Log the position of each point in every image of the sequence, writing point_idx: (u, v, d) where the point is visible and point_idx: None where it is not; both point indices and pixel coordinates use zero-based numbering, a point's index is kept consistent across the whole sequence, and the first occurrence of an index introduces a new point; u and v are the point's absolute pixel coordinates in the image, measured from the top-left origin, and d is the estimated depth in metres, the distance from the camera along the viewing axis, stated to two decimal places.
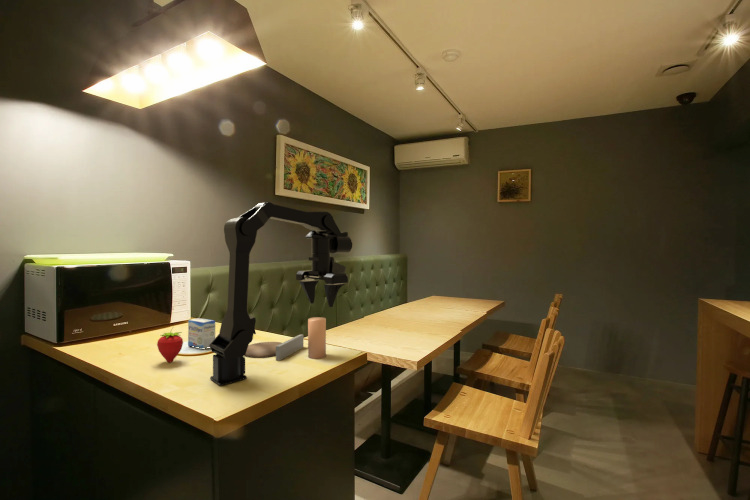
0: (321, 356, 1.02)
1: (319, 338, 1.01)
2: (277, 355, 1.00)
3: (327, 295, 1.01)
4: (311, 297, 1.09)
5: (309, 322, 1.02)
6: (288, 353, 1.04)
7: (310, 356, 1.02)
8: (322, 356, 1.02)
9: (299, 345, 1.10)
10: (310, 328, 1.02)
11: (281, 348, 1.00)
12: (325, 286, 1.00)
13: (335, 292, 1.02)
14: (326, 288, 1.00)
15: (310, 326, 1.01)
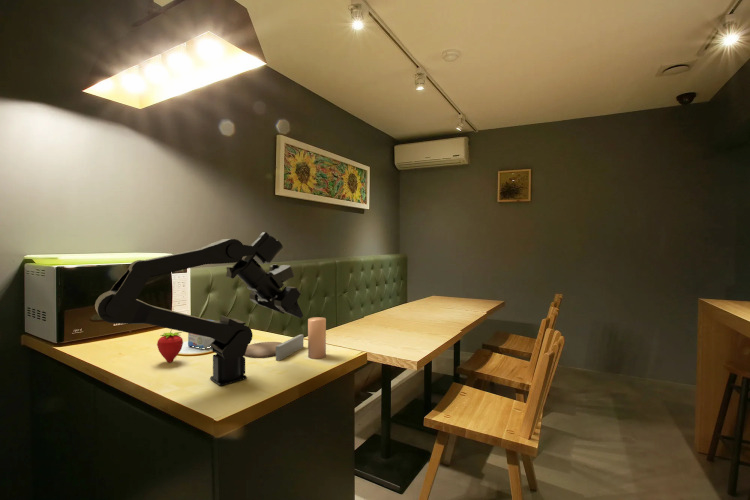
0: (321, 356, 1.02)
1: (319, 338, 1.01)
2: (277, 355, 1.00)
3: (290, 314, 0.91)
4: (279, 309, 1.00)
5: (309, 322, 1.02)
6: (288, 353, 1.04)
7: (310, 356, 1.02)
8: (322, 356, 1.02)
9: (299, 345, 1.10)
10: (310, 328, 1.02)
11: (281, 348, 1.00)
12: (282, 311, 0.89)
13: (296, 305, 0.92)
14: (284, 312, 0.90)
15: (310, 326, 1.01)
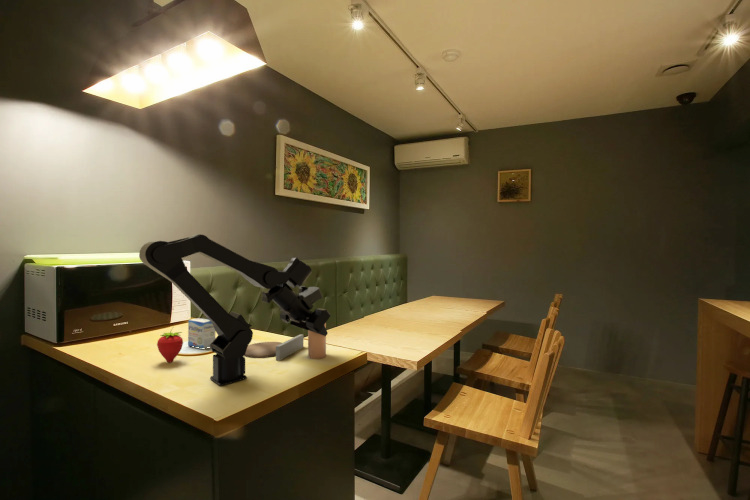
0: (321, 356, 1.02)
1: (319, 338, 1.01)
2: (277, 355, 1.00)
3: None
4: None
5: None
6: (288, 353, 1.04)
7: (310, 356, 1.02)
8: (322, 356, 1.02)
9: (299, 345, 1.10)
10: None
11: (281, 348, 1.00)
12: None
13: None
14: None
15: None
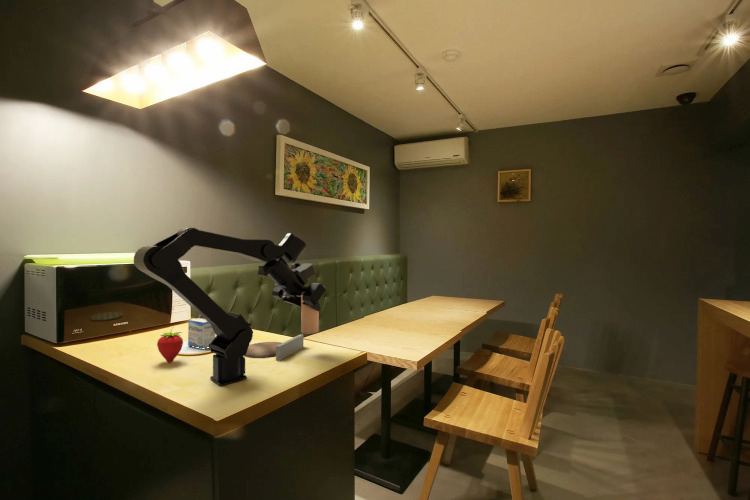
0: (315, 331, 1.03)
1: (312, 313, 1.03)
2: (277, 355, 1.00)
3: (311, 307, 1.01)
4: None
5: None
6: (288, 353, 1.04)
7: (304, 331, 1.03)
8: (315, 331, 1.04)
9: (299, 345, 1.10)
10: None
11: (281, 348, 1.00)
12: (304, 304, 0.99)
13: None
14: (306, 305, 0.99)
15: None
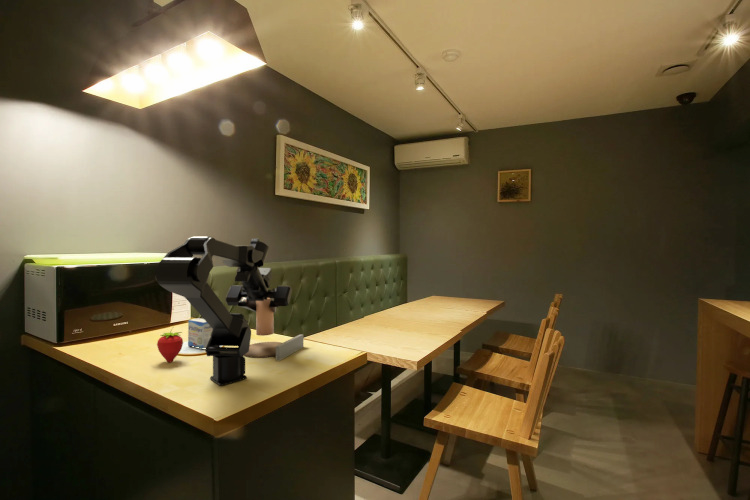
0: (272, 331, 1.09)
1: (271, 315, 1.08)
2: (277, 355, 1.00)
3: (273, 309, 1.06)
4: None
5: (261, 301, 1.06)
6: (288, 353, 1.04)
7: (262, 333, 1.06)
8: (273, 332, 1.09)
9: (299, 345, 1.10)
10: (262, 307, 1.06)
11: (281, 348, 1.00)
12: (270, 307, 1.04)
13: None
14: (272, 307, 1.04)
15: (263, 305, 1.06)
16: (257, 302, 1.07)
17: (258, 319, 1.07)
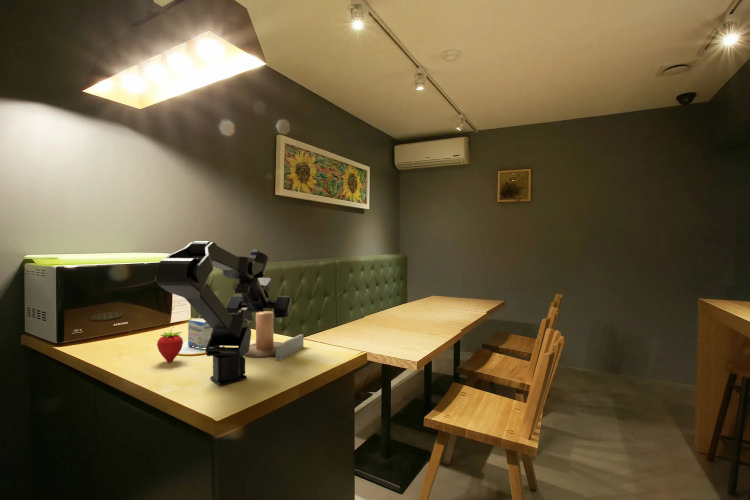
0: (272, 346, 1.09)
1: (271, 330, 1.08)
2: (277, 355, 1.00)
3: (278, 320, 1.06)
4: (251, 318, 1.09)
5: (261, 316, 1.06)
6: (288, 353, 1.04)
7: (262, 348, 1.06)
8: (273, 346, 1.09)
9: (299, 345, 1.10)
10: (262, 321, 1.06)
11: (281, 348, 1.00)
12: (276, 318, 1.04)
13: None
14: (278, 318, 1.04)
15: (263, 319, 1.06)
16: (257, 317, 1.07)
17: (258, 334, 1.07)
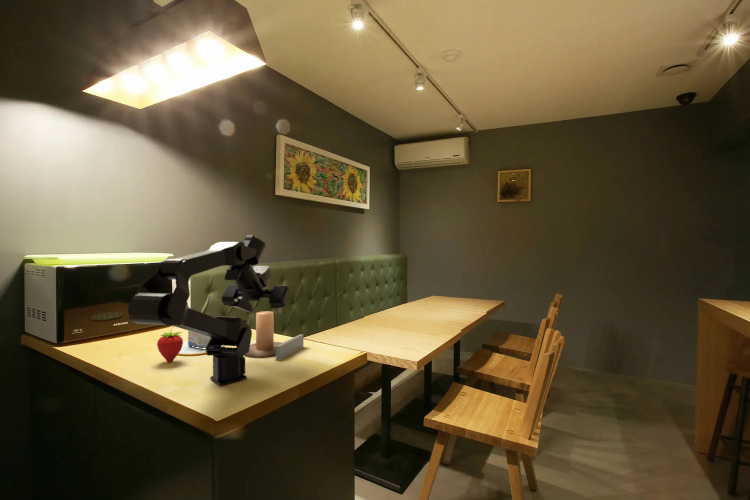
0: (272, 346, 1.09)
1: (271, 330, 1.08)
2: (277, 355, 1.00)
3: (276, 310, 0.99)
4: (249, 308, 1.03)
5: (261, 316, 1.06)
6: (288, 353, 1.04)
7: (262, 348, 1.06)
8: (273, 346, 1.09)
9: (299, 345, 1.10)
10: (262, 322, 1.06)
11: (281, 348, 1.00)
12: (273, 308, 0.97)
13: None
14: (275, 308, 0.97)
15: (263, 319, 1.06)
16: (257, 317, 1.07)
17: (258, 334, 1.07)
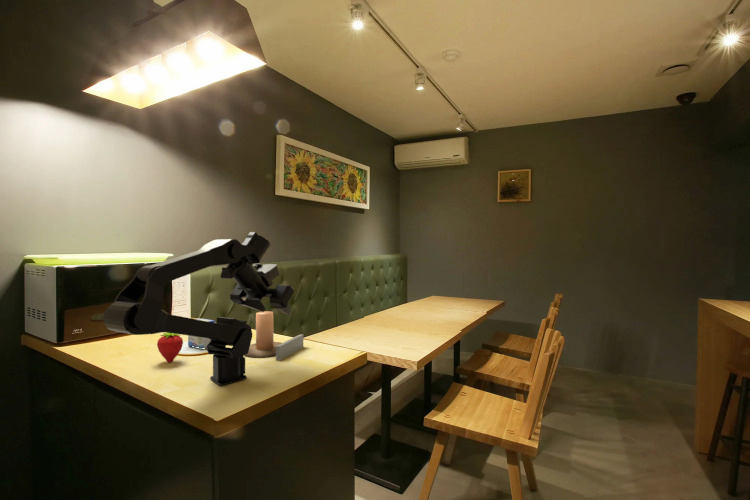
0: (272, 346, 1.09)
1: (271, 330, 1.08)
2: (277, 355, 1.00)
3: (281, 311, 0.95)
4: (260, 307, 1.02)
5: (261, 316, 1.06)
6: (288, 353, 1.04)
7: (262, 348, 1.06)
8: (273, 346, 1.09)
9: (299, 345, 1.10)
10: (262, 322, 1.06)
11: (281, 348, 1.00)
12: (276, 308, 0.93)
13: None
14: (278, 309, 0.93)
15: (263, 319, 1.06)
16: (257, 317, 1.07)
17: (258, 334, 1.07)
